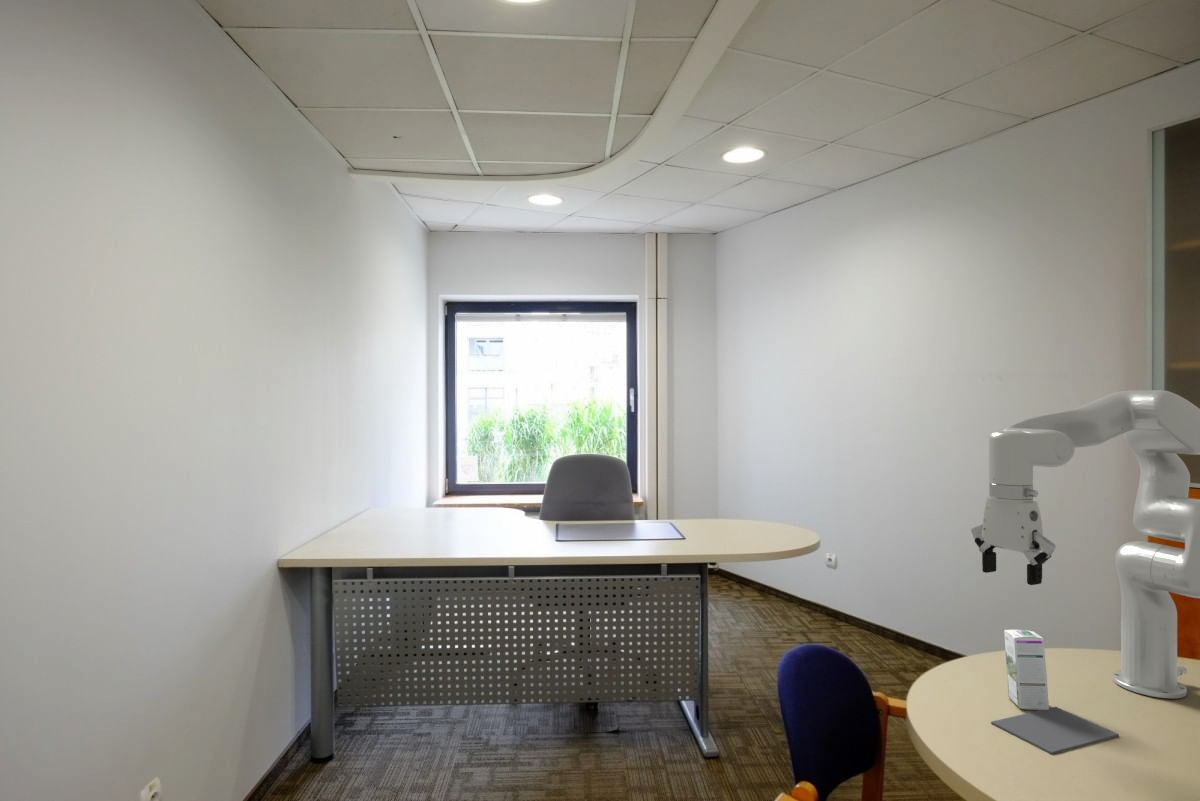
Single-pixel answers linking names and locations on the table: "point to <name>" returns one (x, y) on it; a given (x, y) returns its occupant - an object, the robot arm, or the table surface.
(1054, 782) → the table surface
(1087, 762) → the table surface
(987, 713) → the table surface
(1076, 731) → the mat
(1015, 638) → the syrup box
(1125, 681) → the robot arm
